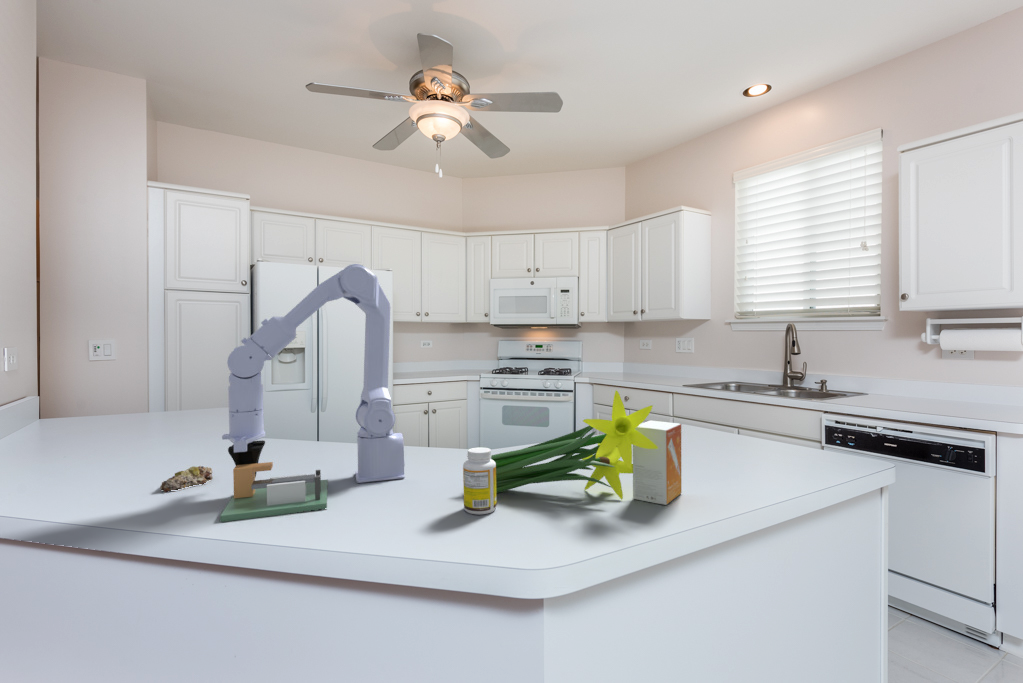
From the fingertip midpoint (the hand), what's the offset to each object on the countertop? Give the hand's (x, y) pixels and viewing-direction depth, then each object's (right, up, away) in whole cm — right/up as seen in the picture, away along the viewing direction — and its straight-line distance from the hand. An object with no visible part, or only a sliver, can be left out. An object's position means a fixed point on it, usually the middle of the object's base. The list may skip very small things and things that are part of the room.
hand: (247, 482), depth 93 cm
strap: (+10, +1, -6) cm, 11 cm away
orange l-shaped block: (+3, -1, -3) cm, 4 cm away
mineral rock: (-17, -3, +7) cm, 18 cm away
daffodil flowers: (+58, -2, -3) cm, 58 cm away
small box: (+76, -2, -3) cm, 76 cm away
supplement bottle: (+44, -2, -9) cm, 45 cm away
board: (+8, -2, -4) cm, 9 cm away
